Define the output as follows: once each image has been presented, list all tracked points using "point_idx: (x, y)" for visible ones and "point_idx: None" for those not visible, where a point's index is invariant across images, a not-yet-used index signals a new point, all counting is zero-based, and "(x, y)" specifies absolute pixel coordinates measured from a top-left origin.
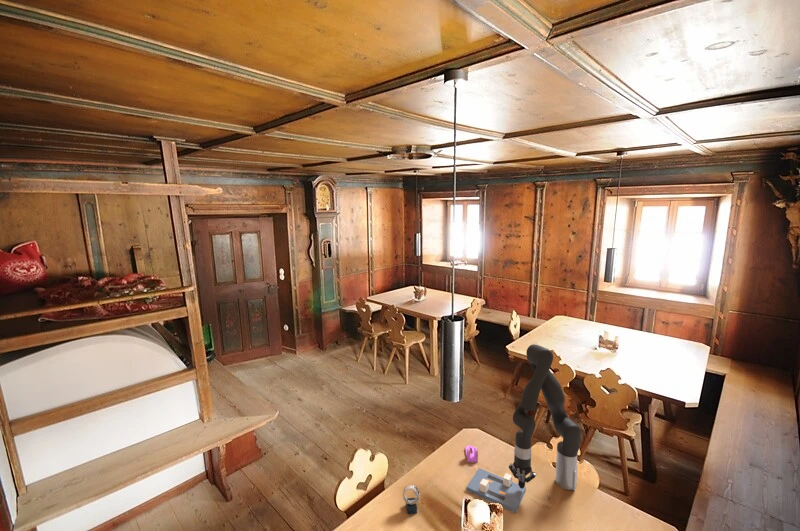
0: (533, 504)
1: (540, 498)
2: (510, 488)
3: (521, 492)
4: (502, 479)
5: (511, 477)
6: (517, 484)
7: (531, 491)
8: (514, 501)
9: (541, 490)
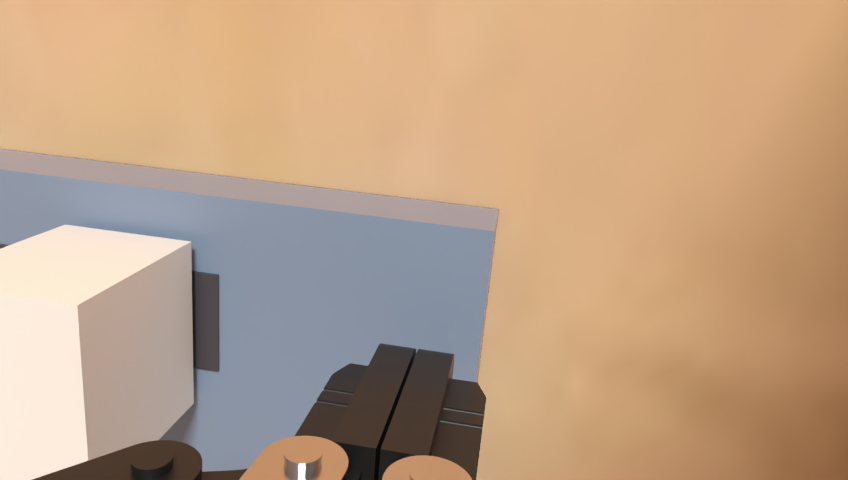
0: (677, 470)
1: (808, 272)
2: (224, 396)
3: None
4: (12, 219)
5: (105, 325)
6: (312, 225)
7: (612, 158)
8: None
9: (834, 11)
